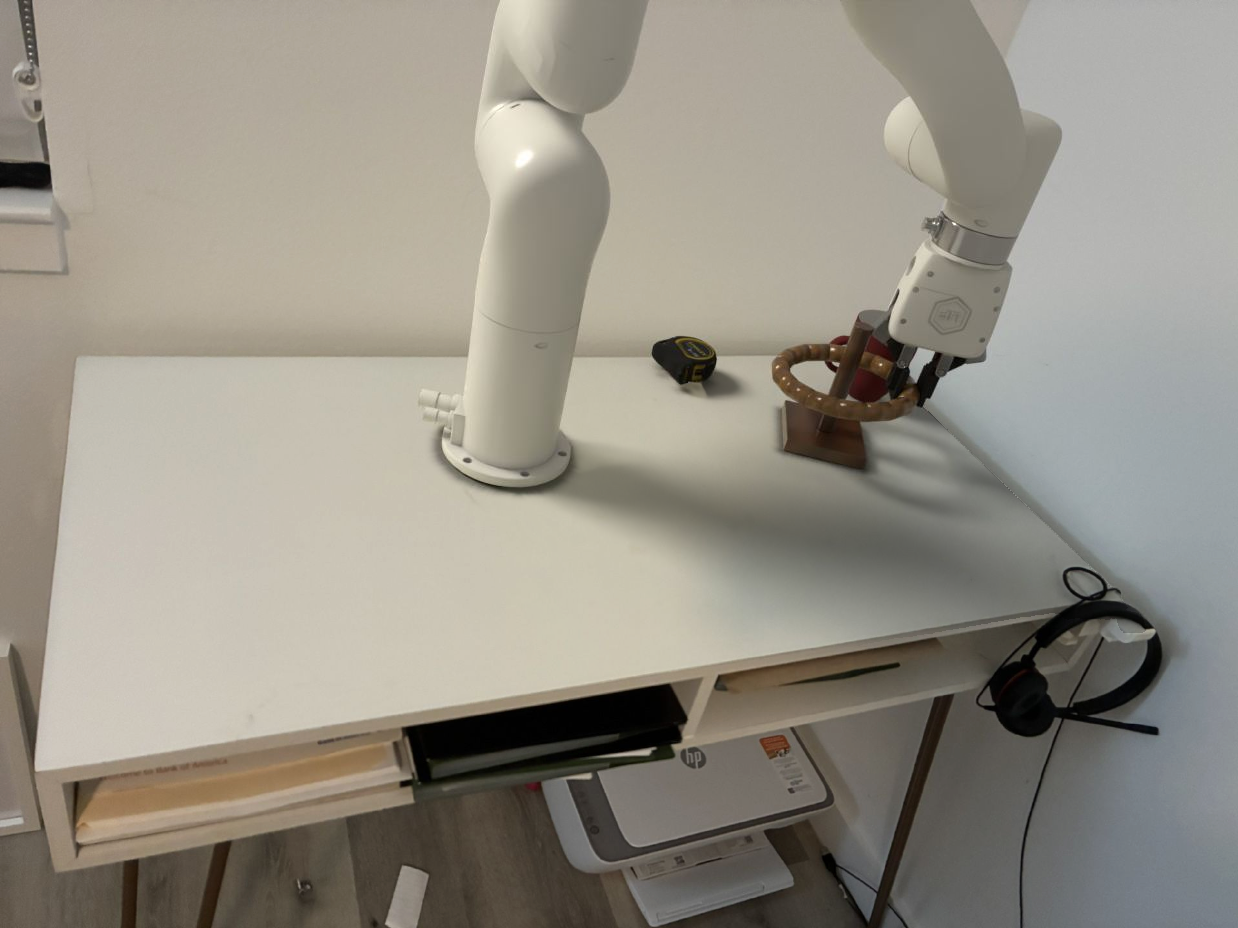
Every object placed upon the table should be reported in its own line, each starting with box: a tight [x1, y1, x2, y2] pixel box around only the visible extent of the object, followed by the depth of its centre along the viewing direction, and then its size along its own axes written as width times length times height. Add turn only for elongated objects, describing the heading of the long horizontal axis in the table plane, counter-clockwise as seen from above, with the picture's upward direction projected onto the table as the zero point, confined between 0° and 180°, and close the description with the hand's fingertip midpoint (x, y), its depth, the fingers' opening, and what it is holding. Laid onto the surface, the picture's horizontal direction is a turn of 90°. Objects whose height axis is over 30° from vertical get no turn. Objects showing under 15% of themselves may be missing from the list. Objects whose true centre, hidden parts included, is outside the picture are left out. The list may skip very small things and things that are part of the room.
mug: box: [824, 309, 919, 403], centre depth 113 cm, size 11×8×10 cm
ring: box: [771, 343, 920, 423], centre depth 101 cm, size 16×16×2 cm
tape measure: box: [651, 335, 718, 386], centre depth 110 cm, size 7×7×4 cm
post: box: [781, 322, 873, 470], centre depth 101 cm, size 9×9×14 cm
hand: (904, 397), depth 101 cm, fingers closed on ring, 2 cm apart
